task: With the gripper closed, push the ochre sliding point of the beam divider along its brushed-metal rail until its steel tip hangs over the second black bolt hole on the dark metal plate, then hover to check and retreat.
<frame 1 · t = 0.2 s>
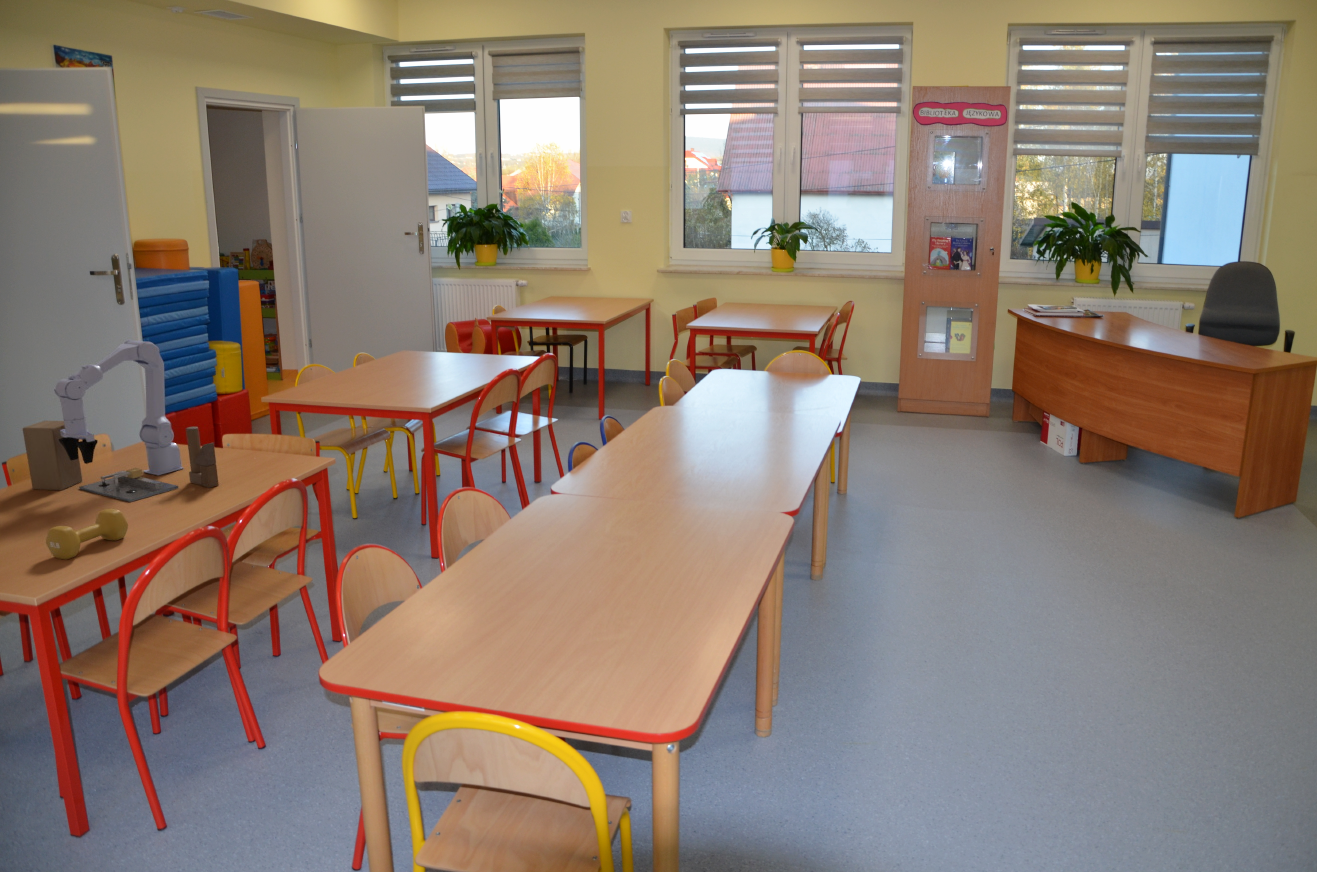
hand: (81, 461, 297), 10 cm above the table, tool pointing down, fingers open, 7 cm apart
wooden block: (58, 486, 307), on the table
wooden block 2: (204, 484, 308), on the table
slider: (127, 477, 303), point 3 cm above the table, slide at 0.0 cm
hole plate: (129, 488, 303), on the table
dumbbell: (90, 548, 254), on the table
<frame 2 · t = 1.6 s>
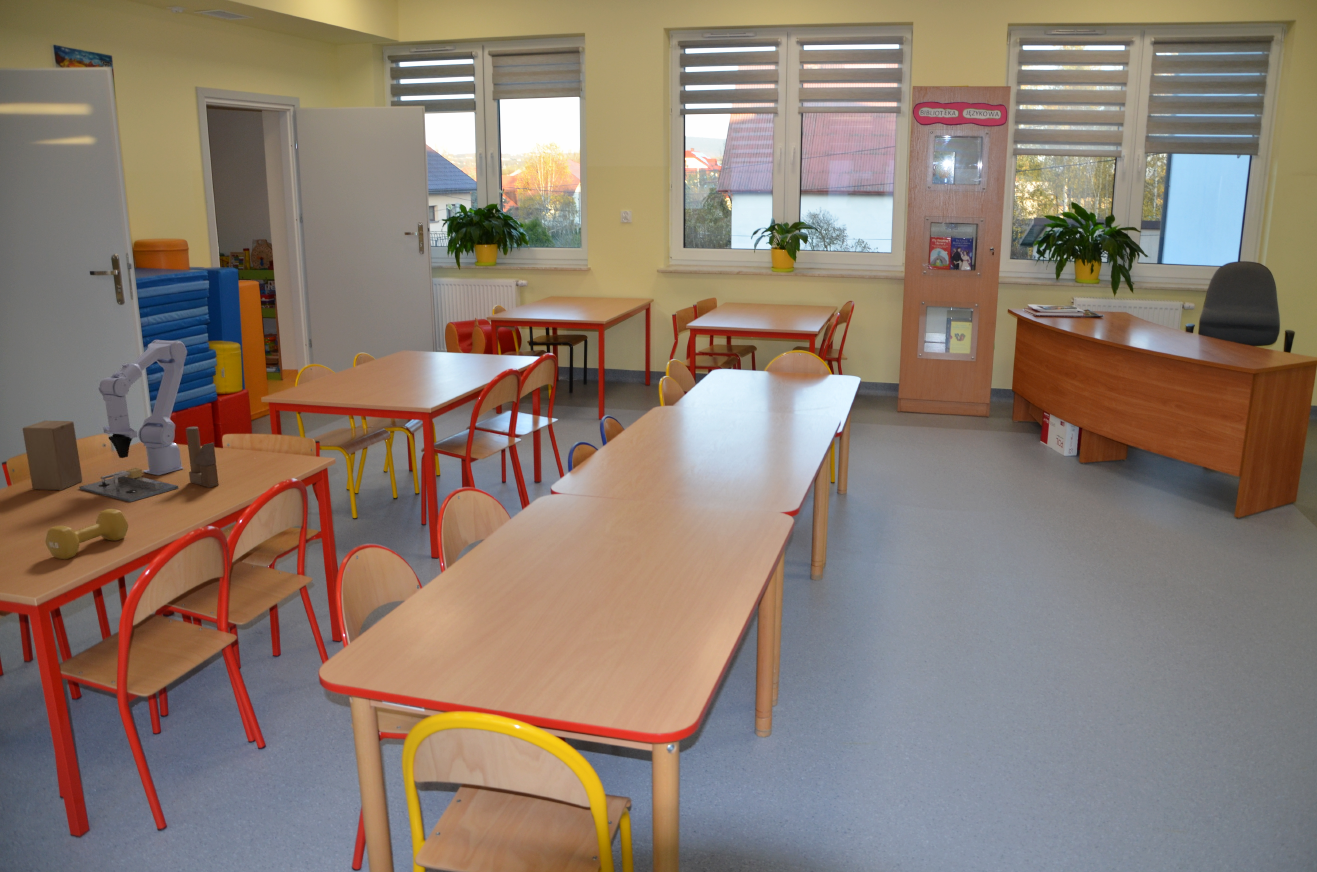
hand: (123, 457, 306), 9 cm above the table, tool pointing down, fingers closed
nothing on the table moved.
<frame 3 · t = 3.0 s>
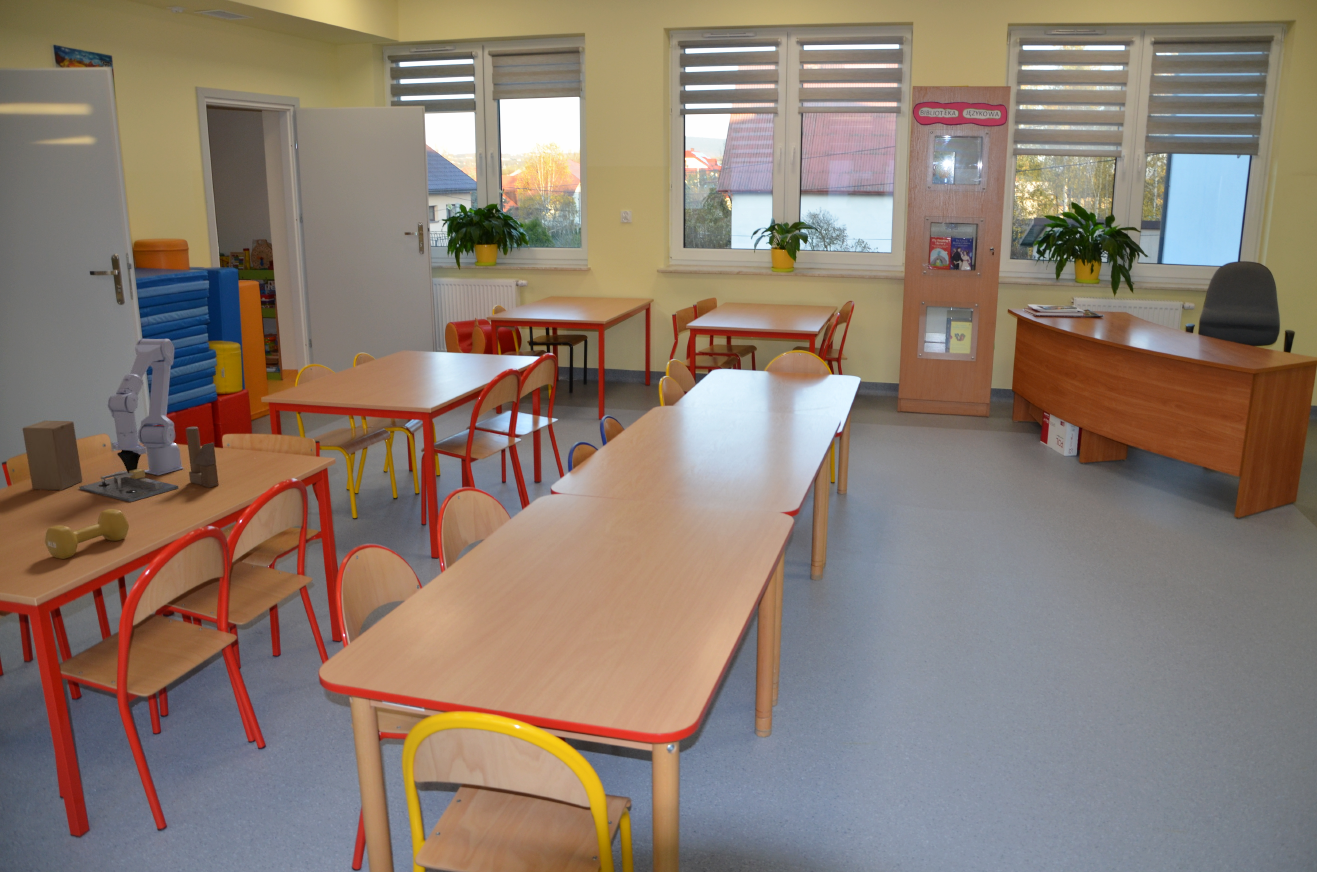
hand: (132, 473, 306), 4 cm above the table, tool pointing down, fingers closed
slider: (130, 478, 302), point 3 cm above the table, slide at 1.5 cm, touching gripper
everything else where it was.
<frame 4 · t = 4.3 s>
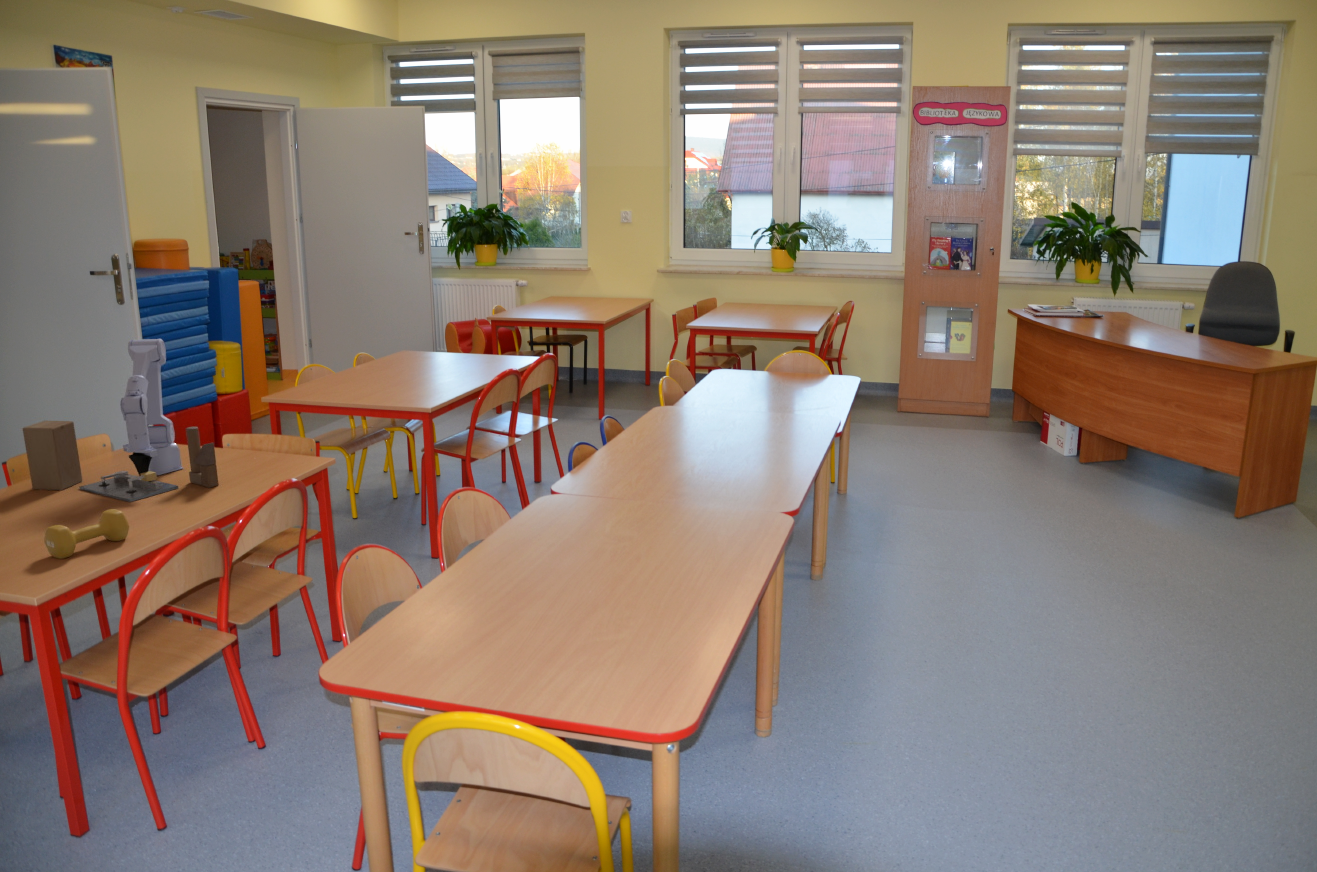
hand: (143, 475, 303), 4 cm above the table, tool pointing down, fingers closed
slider: (141, 481, 300), point 3 cm above the table, slide at 7.3 cm, touching gripper
everything else where it was.
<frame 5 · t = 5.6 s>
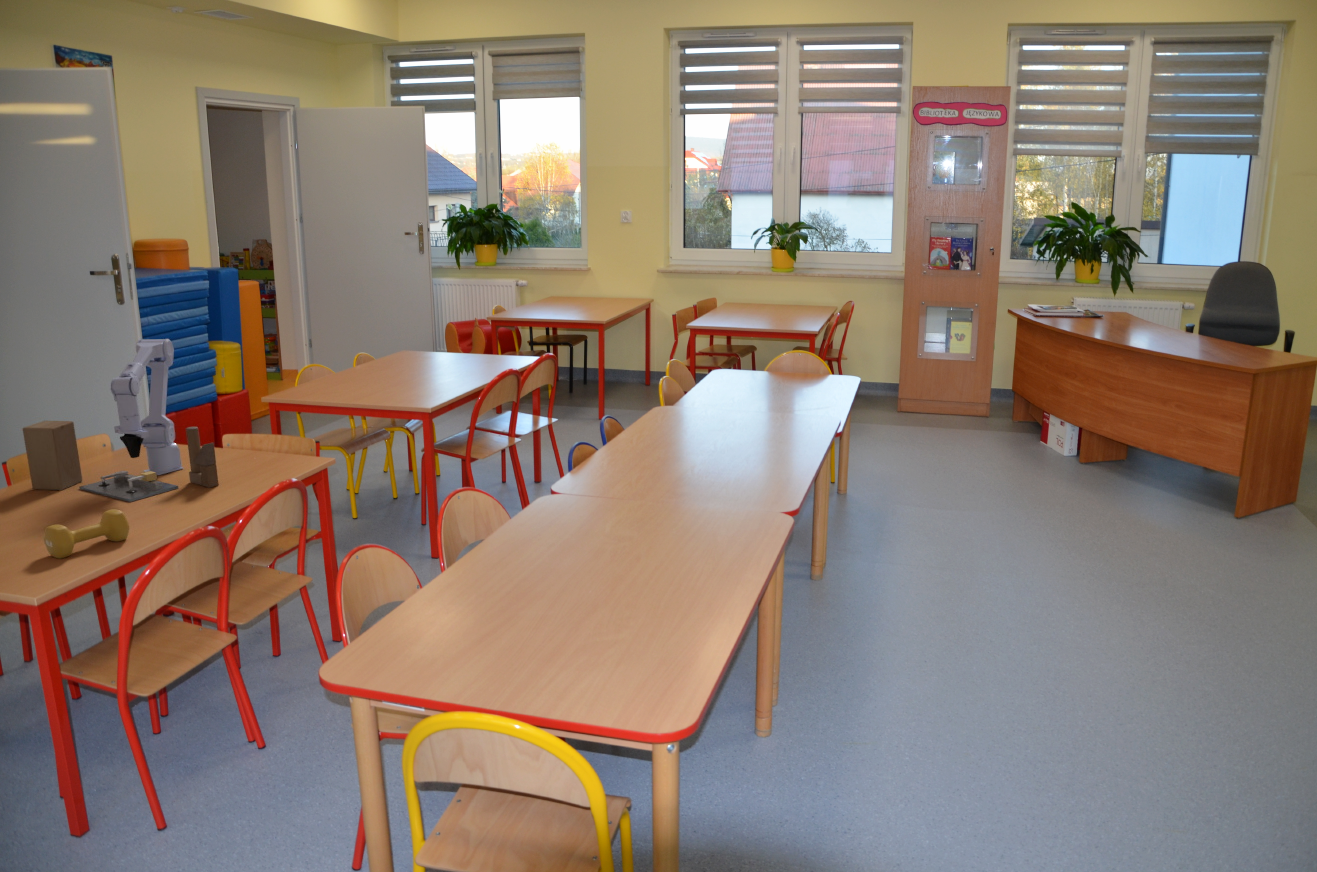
hand: (135, 457, 303), 10 cm above the table, tool pointing down, fingers closed
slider: (141, 481, 300), point 3 cm above the table, slide at 7.3 cm
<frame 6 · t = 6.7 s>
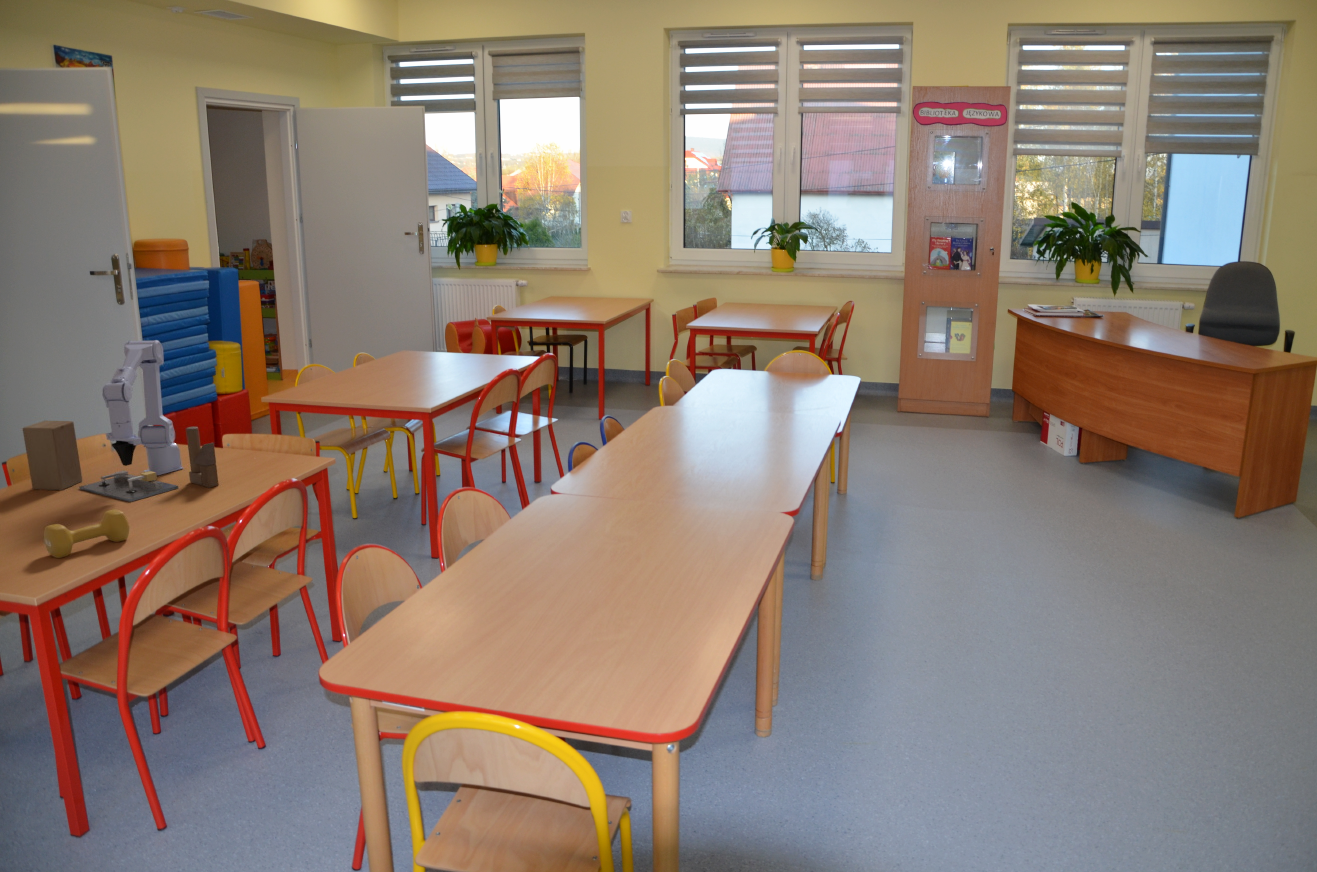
hand: (127, 464, 295), 9 cm above the table, tool pointing down, fingers closed
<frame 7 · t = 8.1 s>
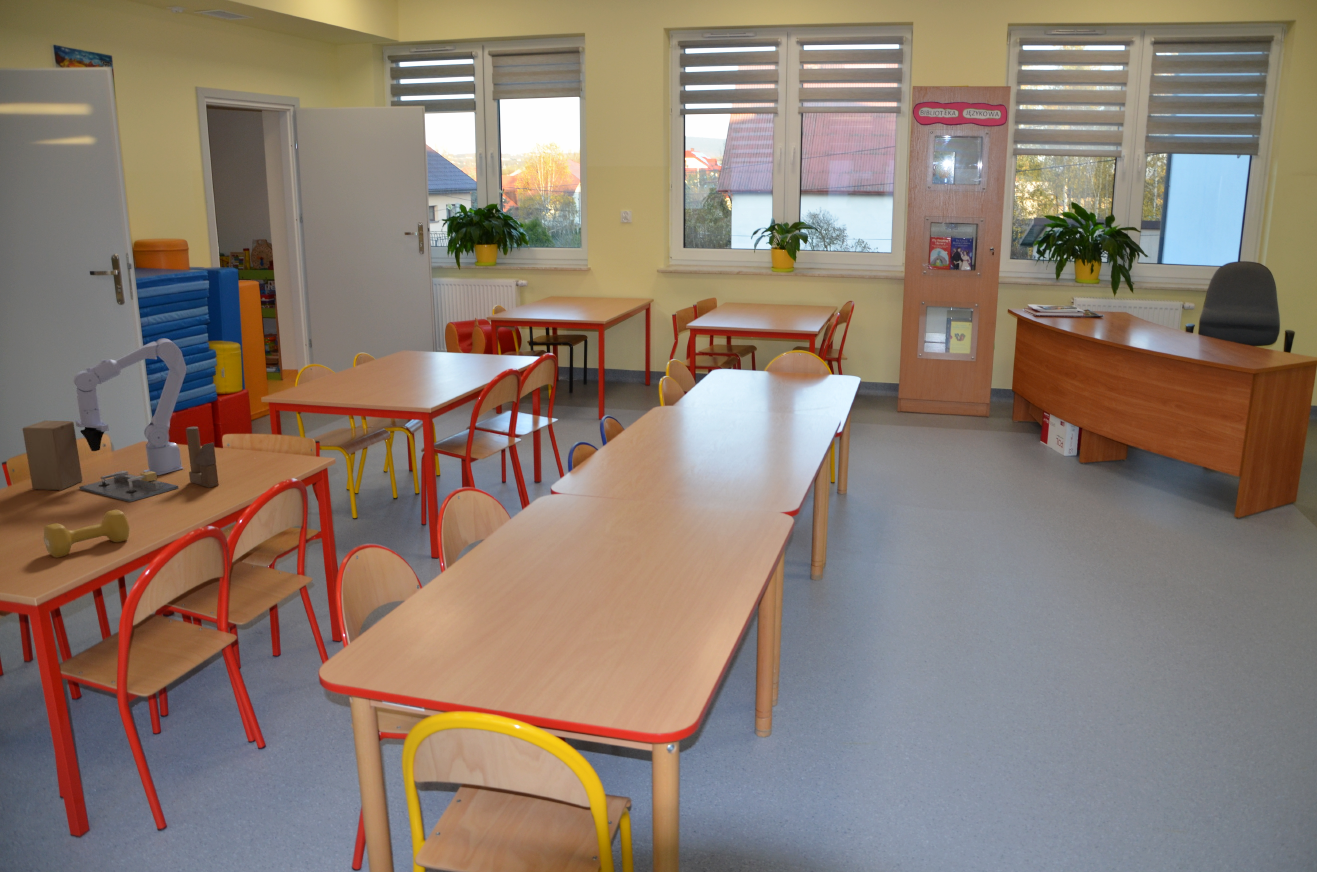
hand: (95, 450, 310), 10 cm above the table, tool pointing down, fingers closed
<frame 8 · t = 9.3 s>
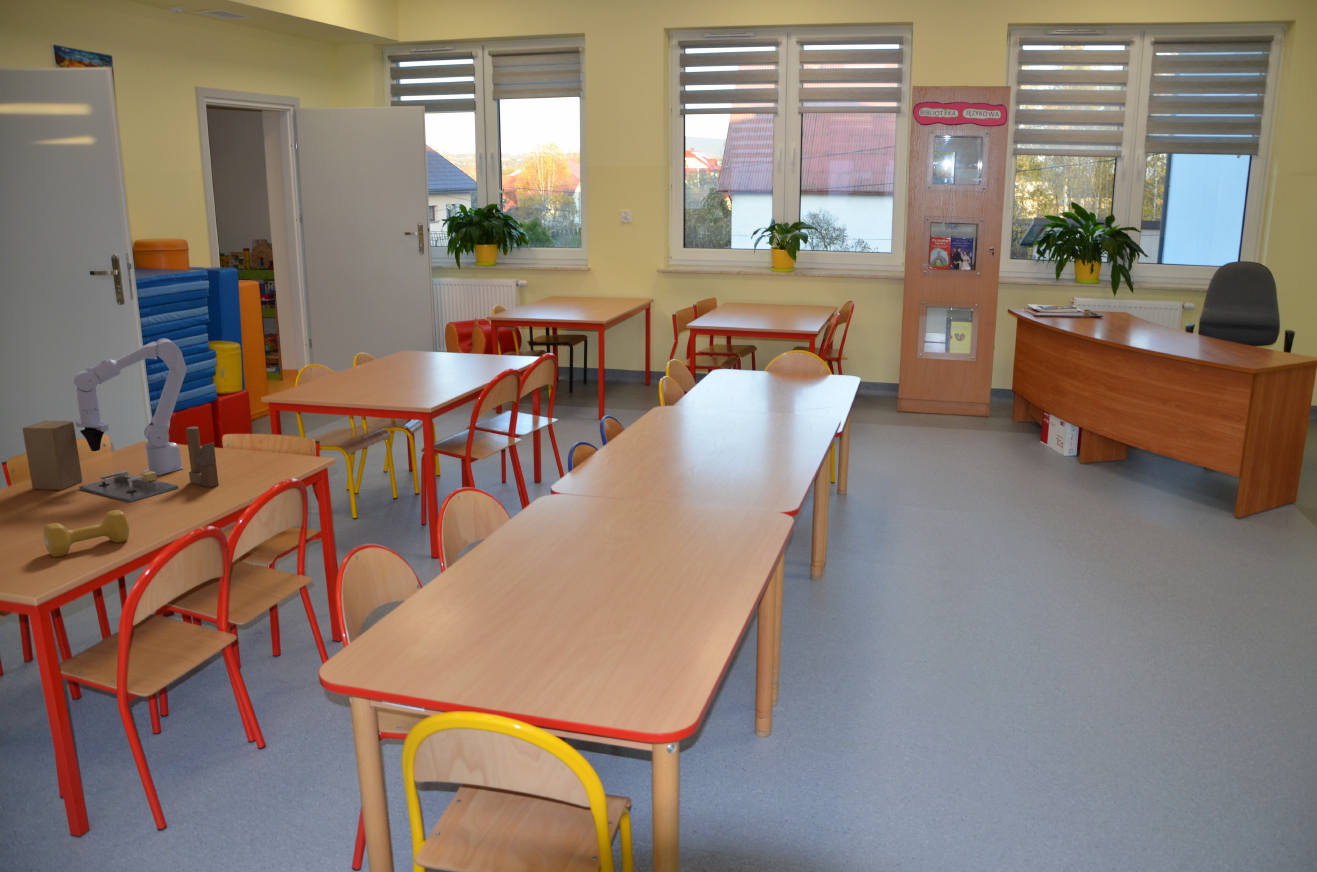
hand: (95, 450, 310), 10 cm above the table, tool pointing down, fingers closed
at the end: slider slide at 7.3 cm; the gripper is holding nothing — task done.
